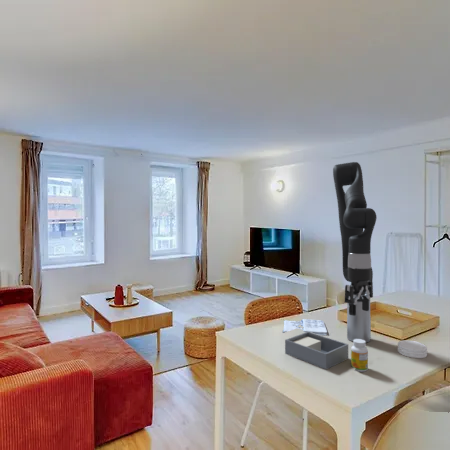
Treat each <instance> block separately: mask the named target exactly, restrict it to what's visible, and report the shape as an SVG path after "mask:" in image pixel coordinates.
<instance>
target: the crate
mask: <svg viewBox="0 0 450 450" xmlns="http://www.w3.org/2000/svg"><path fill="white" fill-rule="evenodd" d="M304 337H310V338H313V339H316V340H319V341H321V351H317V350H315V349H312V348H309V347H306V346H303V345H300V344H298V343H295V342H293V341H296V340H299V339H301V338H304ZM284 346H285V347H284V349H285V350H284V354H285V355H287V356H290V357H294V358H295V359H297V360H298V359H299V360H301V361H303V362H306V363H307V364H311V365H313V366H316V367H318V368H321V369H323V370H328V369H330V368H332V367H334V366H337V365H339V364H340V363H342V362H344V361H346V360H348V359H349V344H348V343H345V342H342V341H339V340H336V339H333V338H329V337H326V336H324V335H318V334H315V333H312V332H303V333H301V334H298V335H295V336H292V337H289V338H287V339H284Z"/></svg>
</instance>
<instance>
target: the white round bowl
mask: <svg viewBox="0 0 450 450" xmlns="http://www.w3.org/2000/svg"><path fill="white" fill-rule="evenodd" d="M397 352H398V354H400V355H403V356H405V357H408V358H412V359H423V358H424V359H425V358H427V357H428V347H427V345H425V344H424V343H422V342H419V341H414V340H407V339H406V340H400V341H398V342H397Z"/></svg>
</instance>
